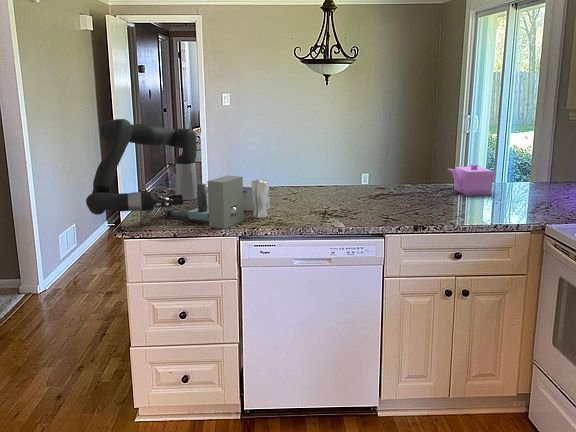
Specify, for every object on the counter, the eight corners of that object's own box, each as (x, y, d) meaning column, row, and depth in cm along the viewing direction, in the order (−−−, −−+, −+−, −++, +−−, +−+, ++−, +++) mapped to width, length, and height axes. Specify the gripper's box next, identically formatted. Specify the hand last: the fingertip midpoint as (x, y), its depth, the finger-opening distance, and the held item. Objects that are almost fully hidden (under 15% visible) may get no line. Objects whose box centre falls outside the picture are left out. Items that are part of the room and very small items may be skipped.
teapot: (440, 190, 283) (442, 162, 280) (487, 188, 285) (490, 161, 282) (451, 196, 268) (453, 167, 265) (501, 194, 270) (503, 166, 267)
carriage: (187, 218, 225) (186, 184, 222) (198, 215, 231) (196, 181, 228) (210, 221, 220) (208, 187, 217) (220, 217, 226) (218, 184, 223)
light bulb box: (270, 208, 245) (269, 184, 243) (264, 212, 239) (264, 187, 237) (247, 207, 249) (247, 183, 246) (241, 210, 243) (241, 186, 240)
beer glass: (251, 214, 235) (250, 179, 231) (268, 214, 235) (267, 179, 232) (252, 218, 228) (251, 182, 225) (269, 218, 229) (268, 182, 225)
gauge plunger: (212, 214, 221) (211, 204, 220) (217, 212, 224) (217, 202, 223) (232, 217, 216) (232, 207, 215) (238, 215, 220) (238, 205, 219)
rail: (165, 217, 232) (164, 210, 231) (173, 214, 236) (172, 207, 235) (214, 223, 220) (214, 216, 220) (222, 221, 225) (221, 213, 224)
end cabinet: (208, 226, 217) (206, 180, 212) (228, 218, 229) (226, 175, 224) (224, 228, 213) (222, 182, 209) (243, 220, 225) (242, 176, 221)
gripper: (139, 195, 211) (182, 193, 214) (140, 188, 224) (181, 187, 228) (140, 214, 213) (183, 212, 216) (141, 207, 226) (182, 204, 230)
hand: (182, 199), depth 222 cm, fingers open, 8 cm apart
